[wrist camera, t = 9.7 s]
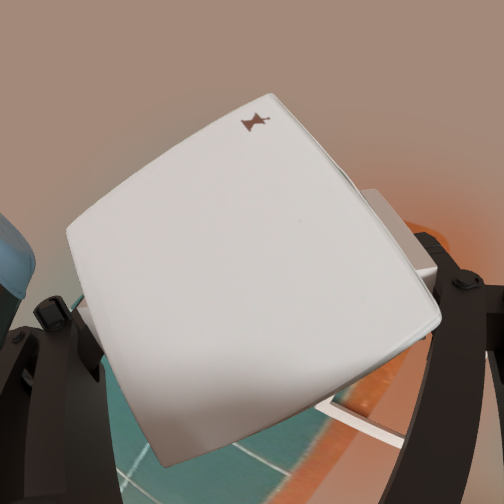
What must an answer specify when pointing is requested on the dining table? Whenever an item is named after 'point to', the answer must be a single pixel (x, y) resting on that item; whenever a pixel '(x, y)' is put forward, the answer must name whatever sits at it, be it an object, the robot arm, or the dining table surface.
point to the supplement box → (242, 283)
